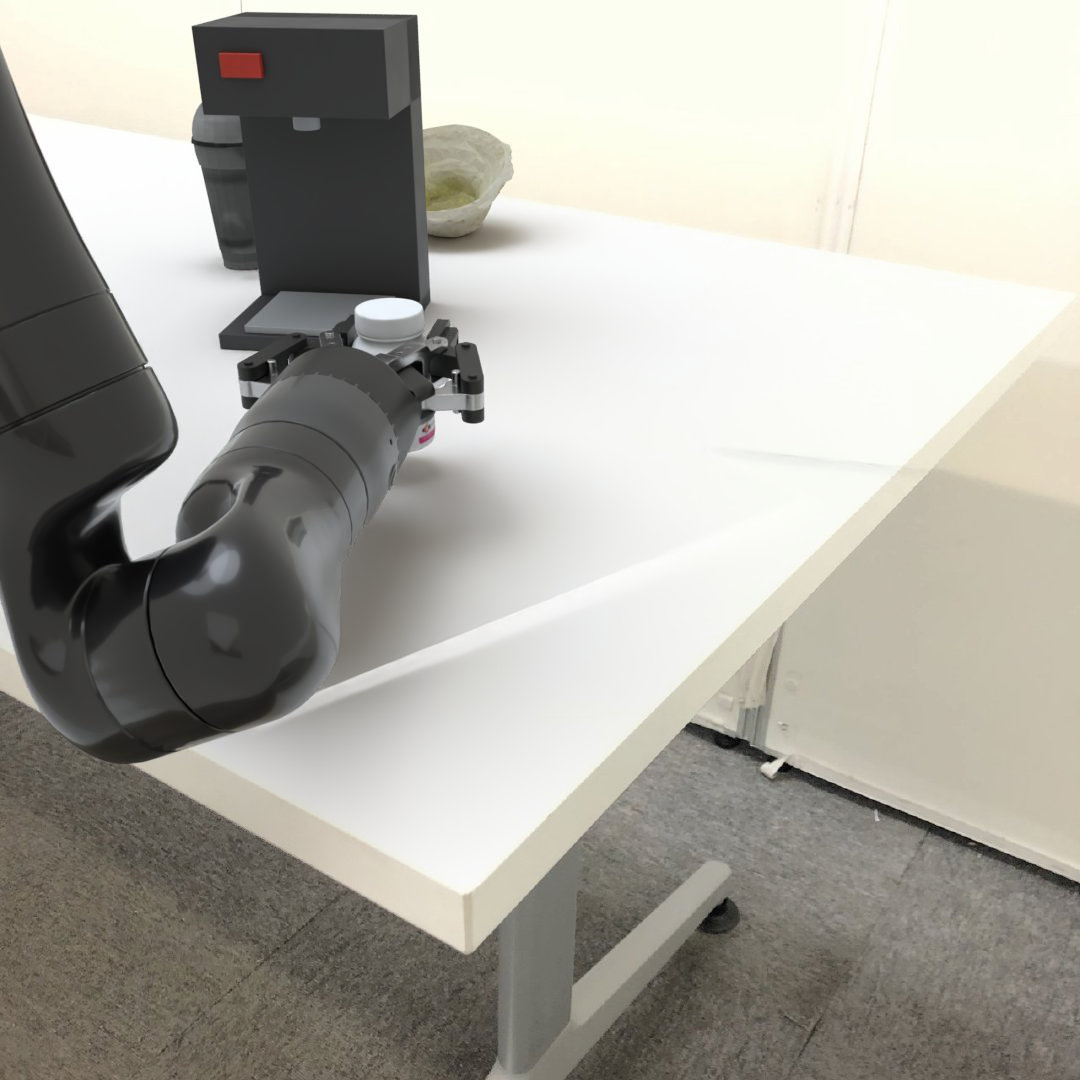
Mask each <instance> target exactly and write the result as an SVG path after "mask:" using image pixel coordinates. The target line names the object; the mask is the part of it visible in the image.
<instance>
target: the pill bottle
mask: <svg viewBox="0 0 1080 1080" xmlns="http://www.w3.org/2000/svg"><path fill="white" fill-rule="evenodd" d="M425 324H426V323H425V315H424V311H423V307H422V305H421V304H420V303H418V302H416V301H413V300H409V299H402V298H381V299H374V300H369V301H366V302H363V303H361V304H359V305H358V306H357V307H356V308H355V329H356V330H357V334H358V336H359V337H357V338H356V339H355V341H354V342H353V344H352V347H353V348H356V349H360V350H363V351H365V352H368V353H370V354H372V355H374V356H375V355H377V354H379V353H383V354H387V353H389V352H391V351H392V350H394V349H396V348H398V347H399V346H401V345H403V344H405V343H406V342H412V343H417V344H420V343H422V342H423V341H425V340H426V337H427V335H425V334H424V332H425V327H426V325H425ZM435 415H436V414H435ZM435 415H434V416H433V418H432V419H431V420H429V421H428V422H426V423H424V424H422V425H420V426H419V427H418V429H417V432H416V435H415V438H414V441H413V443H412V446H411V448H410V450H409V452H408V454H409V453H413V452H417V451H421V450H422V449H424V448H426V447H428V446H429V445H430V444H432V442H433V441H434V439H435V437H436V419H435V417H436V416H435Z"/></svg>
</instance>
